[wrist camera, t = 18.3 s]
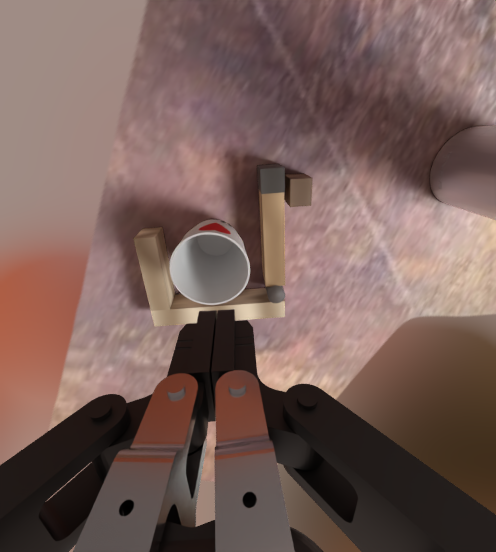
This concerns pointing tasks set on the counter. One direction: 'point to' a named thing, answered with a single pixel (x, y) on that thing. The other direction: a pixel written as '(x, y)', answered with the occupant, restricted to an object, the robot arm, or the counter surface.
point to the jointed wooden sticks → (183, 310)
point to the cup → (210, 263)
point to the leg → (272, 228)
